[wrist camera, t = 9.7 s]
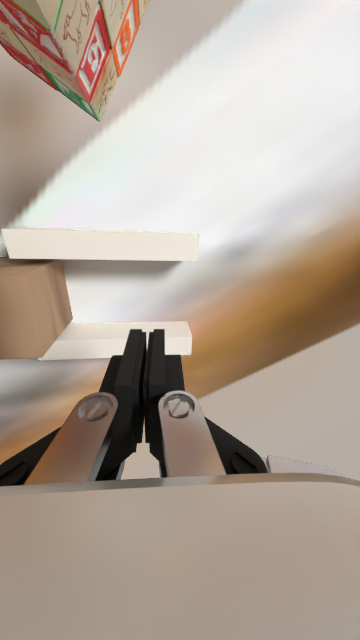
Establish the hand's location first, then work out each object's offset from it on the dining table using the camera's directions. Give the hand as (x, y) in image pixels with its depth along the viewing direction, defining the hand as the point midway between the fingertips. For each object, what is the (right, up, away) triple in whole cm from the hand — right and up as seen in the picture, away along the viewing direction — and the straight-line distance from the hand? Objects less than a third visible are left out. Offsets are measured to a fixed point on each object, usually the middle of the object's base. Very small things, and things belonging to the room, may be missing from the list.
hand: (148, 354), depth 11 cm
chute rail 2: (-5, +1, +12) cm, 13 cm away
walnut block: (-13, +5, +10) cm, 17 cm away
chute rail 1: (-4, +9, +9) cm, 13 cm away
